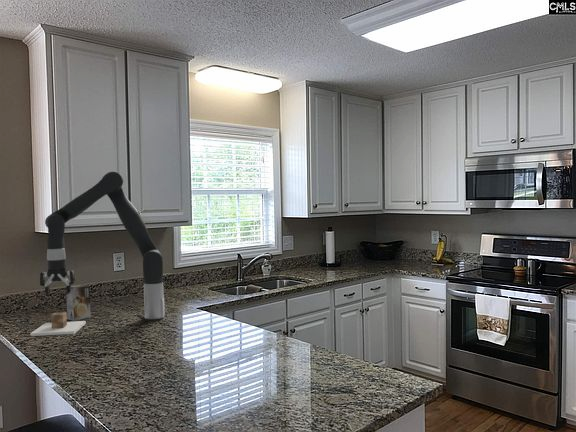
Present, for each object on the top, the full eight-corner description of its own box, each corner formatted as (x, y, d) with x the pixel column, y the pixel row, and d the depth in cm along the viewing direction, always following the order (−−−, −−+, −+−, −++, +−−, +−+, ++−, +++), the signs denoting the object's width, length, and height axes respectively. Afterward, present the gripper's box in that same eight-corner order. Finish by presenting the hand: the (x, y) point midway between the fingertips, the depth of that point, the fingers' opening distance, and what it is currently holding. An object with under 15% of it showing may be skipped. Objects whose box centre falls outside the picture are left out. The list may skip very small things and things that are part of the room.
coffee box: (84, 315, 243) (83, 284, 242) (91, 317, 239) (90, 285, 238) (66, 319, 236) (65, 287, 235) (73, 321, 232) (72, 288, 231)
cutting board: (85, 323, 227) (85, 320, 227) (74, 333, 209) (74, 331, 209) (45, 325, 225) (45, 322, 225) (30, 336, 207) (30, 333, 207)
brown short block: (66, 325, 220) (66, 312, 220) (63, 327, 215) (63, 314, 215) (55, 325, 219) (54, 312, 219) (51, 328, 214) (51, 315, 214)
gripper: (75, 256, 220) (77, 291, 221) (42, 258, 218) (44, 293, 219) (70, 258, 213) (72, 295, 214) (36, 260, 211) (38, 296, 212)
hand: (58, 294), depth 216 cm, fingers open, 8 cm apart
